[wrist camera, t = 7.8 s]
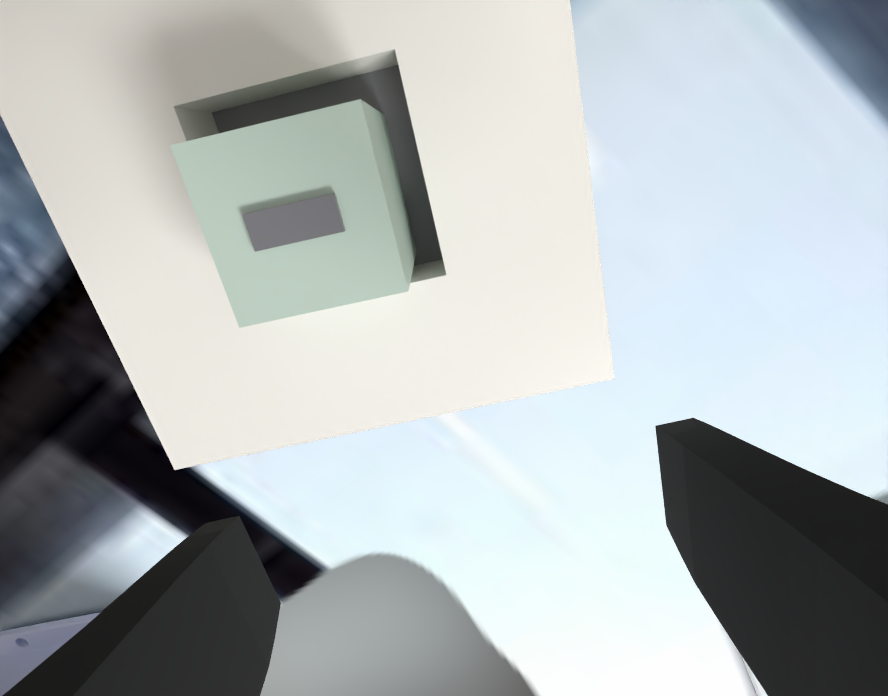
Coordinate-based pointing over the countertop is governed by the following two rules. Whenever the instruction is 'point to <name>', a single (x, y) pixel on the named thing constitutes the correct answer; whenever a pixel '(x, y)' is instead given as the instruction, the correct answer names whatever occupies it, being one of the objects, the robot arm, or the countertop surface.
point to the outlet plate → (421, 175)
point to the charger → (302, 211)
